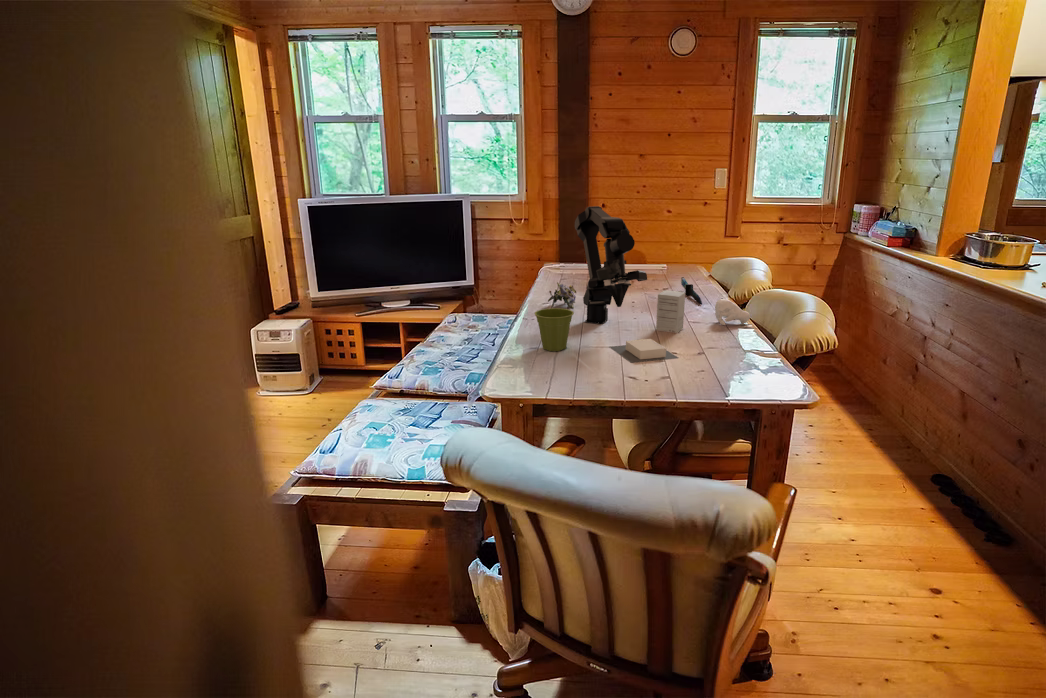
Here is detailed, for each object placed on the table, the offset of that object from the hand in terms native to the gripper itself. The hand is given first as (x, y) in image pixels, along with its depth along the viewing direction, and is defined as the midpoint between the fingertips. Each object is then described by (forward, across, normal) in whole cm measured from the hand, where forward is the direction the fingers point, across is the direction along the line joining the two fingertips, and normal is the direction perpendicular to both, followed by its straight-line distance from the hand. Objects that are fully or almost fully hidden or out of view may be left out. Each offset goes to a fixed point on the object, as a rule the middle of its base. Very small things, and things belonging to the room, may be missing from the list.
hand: (619, 306), depth 194 cm
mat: (+15, +11, -7) cm, 20 cm away
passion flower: (-5, -39, +24) cm, 46 cm away
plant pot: (+12, -13, -19) cm, 26 cm away
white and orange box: (+12, +8, -5) cm, 16 cm away
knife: (-6, -6, +69) cm, 70 cm away
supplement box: (+8, +6, +20) cm, 23 cm away
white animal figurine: (+8, +20, +40) cm, 46 cm away
